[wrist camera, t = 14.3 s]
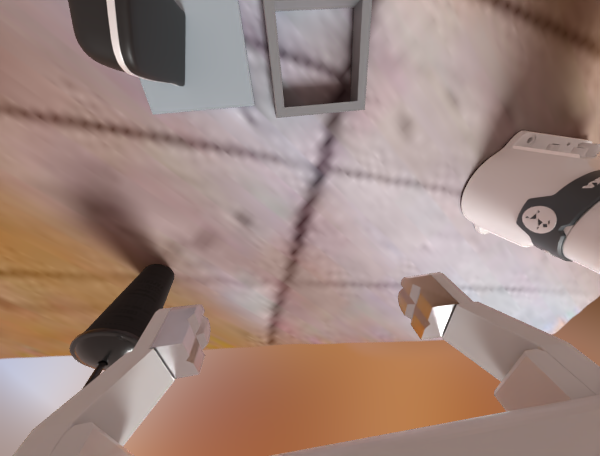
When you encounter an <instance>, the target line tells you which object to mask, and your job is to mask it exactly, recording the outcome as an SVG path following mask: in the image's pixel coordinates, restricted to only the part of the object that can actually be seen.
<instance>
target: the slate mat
mask: <svg viewBox="0 0 600 456" xmlns="http://www.w3.org/2000/svg"><path fill="white" fill-rule="evenodd" d="M174 1H175V2H176V3H177V4H178V5H179V7H180V8H181V9H182V10H183V11H184V12H185V16H186V46H185V85H184V86H175V85H173V84H169V83H161V82H154V81H149V80H146V79H142V78H139V79H140V81H141V84H142V87H143V89H144V92H145V95H146V97H147V100H148V103H149V105H150V108H151V111H152V113H153V114H163V113H175V112H186V111H198V110H209V109H221V108H232V107H244V106H255V103H254V97H253V91H252V84H251V78H250V72H249V66H248V59H247V53H246V47H245V41H244V34H243V28H242V22H241V15H240V9H239V3H238V0H174Z"/></svg>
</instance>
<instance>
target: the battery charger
mask: <svg viewBox="0 0 600 456" xmlns="http://www.w3.org/2000/svg"><path fill="white" fill-rule="evenodd" d="M68 2H69V8H70V13H71V18H72V24H73V28H74V32H75V36H76V39H77V41H78V43H79V45H80V46H81V48H82V49H83V50H84V52H85V53H86V54H87V55H88V56H89V57H91V58H92V59H93V60H95V61H97V62H98V63H100V64H102V65H105V66H107V67H110V68H113V69H116V70H119V71H123V72H126V73H128V74H130V75H133V76H136V77H139V78H142V79H146V80H149V81H154V82H161V83H169V84H173V85H175V86H184V85H185V46H186V16H185V12H184V11H183V10H182V9H181V8H180V7H179V5H178V4H177V3H176V2H175V1H174V0H68Z"/></svg>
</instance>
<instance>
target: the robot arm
mask: <svg viewBox="0 0 600 456" xmlns="http://www.w3.org/2000/svg"><path fill="white" fill-rule="evenodd" d="M598 152H600V144H594V143H592V142H591V141H590V140H585V139H579V138H572V137H565V136H558V135H551V134H544V133H537V132H531V131H520V132H518V133H517V134H516V135H515V136H514V137H513V138H512V139H511V140H510V141H509V142H508V143H507V145H506V146H505V147H504V148H503V149H502V150H500V151H499V152H497V153H496V154H495V155H493V156H492V157H490V158H489V159H488V160H487V161H485V162H484V163H483V164H482V165H481V166H480V167H479V168H478V169H477V171H476V172H475V173H474V174H473V176H472V177H471V179H470V180H469V182H468V184H467V186H466V188H465V190H464V193H463V196H462V202H461V208H462V212H463V215H464V216H465V217H466V219H468V220H469V221H471V222H472V223H473V224H474V226H475V229H476V231H477V232H479V233H481V234H488V233H493V234H495V235H497V236H499V237H502V238H504V239H506V240H508V241H511V242H513V243H515V244H517V245H520V246H523V247H528V246H536V247H537V248H539V249H541V250H543V251H545V252H546V253H548V254H550V255H552V256H554V257H558V258H560V259H562V260H565V261H571V262H572V261H574V262H576V263H578V264H580V265H582V266H584V267H586V268H588V269H590V270H592V271H594V272H596V273H598V274H600V157H599V156H597V155H596V154H598ZM401 285H402V287H403V289H402V290H401V291H400V292H399V295H398V302H399V306H400V308H401V310H402V312H403V314H404V315H405V316H407V317H408V318H410V319H411V326H412V327H413V329H414V330H415V332H416V333H417V335H418V336H419V338H420V339H421V340H425V339H433V338H441V337H443V338H442V339H444V340H445V341H446V342H448V343H449V344H450V345H452V346H453V347H455V348H456V349H457V350H459V351H460V352H461V353H463V354H464V355H465V356H467V357H468V358H470V359H471V360H472V361H474V362H475V363H476V364H478V365H479V366H480V367H482V368H483V369H485V370H486V371H487V372H489V373H490V374H491V375H493V376H494V377H495V378H497V379H498V380H500V381H501V383H500V384H499V386H498V387H497V388H496V390H495V392H494V396H495V397H496V398H497V399H498V401H499V402H500V403H501V404H502V406H503V407H504V409H505V410H506V411H507V412H503V413H497V414H492V415H486V416H481V417H476V418H470V419H465V420H460V421H454V422H449V423H444V424H438V425H433V426H428V427H422V428H417V429H411V430H406V431H401V432H395V433H390V434H385V435H379V436H374V437H368V438H363V439H358V440H352V441H347V442H342V443H337V444H331V445H326V446H320V447H315V448H309V449H305V450H299V451H293V452H288V453H283V454H277V455H272V456H600V367H599V366H598V365H597V364H595V363H594V362H593V361H592V360H590V359H589V358H587V357H586V356H585V355H584V354H582V353H581V352H580V351H579V350H577V349H576V348H575V347H573V346H572V345H571V344H570V343H568V342H566V341H564V340H561V339H559V338H557V337H555V336H553V335H551V334H548V333H546V332H544V331H542V330H539V329H537V328H535V327H533V326H531V325H528V324H526V323H524V322H522V321H520V320H517V319H515V318H513V317H511V316H508V315H506V314H504V313H502V312H500V311H497V310H495V309H493V308H491V307H488V306H486V305H484V304H482V303H480V302H473V301H472V300H471V299H470V298H469V297H468V296H467V295H466V294H465V293H464V292H462V291H461V290H460V289H459V288H458V287H457V286H456V285H455V284H454V283H453V282H452V281H451V280H449V279H448V278H447V277H446V276H445V275H444V274H442V273H440V272H437V273H430V274H423V275H416V276H409V277H404V278H403V279H402V281H401ZM204 311H205V310H204V308H203V306H202V305H190V306H180V307H173V308H164V309H159V310H158V311H156V312H155V314H154V315H153V317H152V319H151V320H150V322H149V324H148V325H147V327H146V329H145V330H144V332H143V334H142V335H141V337H140V339H139V341H138V342H137V344H136V346H135V347H134V349H133V351H131V352H127V353H126V354H125V355H123V356H122V357H121V358H120V359H118V360H117V361H116V362H115V363H114V364H112V365H111V366H110V367H109V368H107V369H106V370H105V371H104V372H103V373H101V374H100V375H99V376H98V377H96V378H95V379H94V380H93V381H92V382H90V383H89V384H88V385H87V386H86V387H84V388H83V389H82V390H81V391H80V392H78V393H77V394H76V395H75V396H73V397H72V398H71V399H70V400H68V401H67V402H66V403H65V404H64V405H62V406H61V407H60V408H59V409H57V410H56V411H55V412H54V413H53V414H51V415H50V416H49V417H48V418H47V419H45V420H44V421H43V422H42V423H40V424H39V425H38V426H37V427H36V428H34V429H33V430H32V431H31V433H30V434H29V435H28V437H27V438H26V439H25V440H24V442H23V443H22V445H21V446H20V447H19V448H18V450H17V451H16V452H15V454H14V455H13V456H134V455H133V454H132V453H130V452H129V451H128V450H127V449H125V448H124V447H123V446H124V444H125V443H126V442H127V441H128V439H129V438H130V437H131V436H132V434H133V433H134V432H135V430H136V429H137V428H138V427H139V425H140V424H141V423H142V422H143V420H144V419H145V418H146V416H147V415H148V414H149V413H150V411H151V410H152V409H153V407H154V406H155V405H156V404H157V402H158V401H159V400H160V399H161V397H162V396H163V395H164V393H165V392H166V391H167V390H168V388H169V387H170V386H171V385H172V383H173V382H174V379H177V378H182V377H188V376H193V375H199V374H200V370H201V367H202V363H203V360H204V356H205V355H204V353H203V351H202V350H203V349H204V348H205V346H206V345H207V344H208V342H209V338H210V323H209V320H208V318H206V317H205V316H203V314H204Z"/></svg>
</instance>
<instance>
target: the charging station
mask: <svg viewBox="0 0 600 456" xmlns="http://www.w3.org/2000/svg"><path fill="white" fill-rule="evenodd" d="M262 1H263V10H264V18H265V27H266V35H267V44H268V52H269V61H270V69H271V77H272V86H273V94H274V103H275V111H276V117H277V118H280V117H291V116H302V115H313V114H323V113H334V112H345V111H356V110H365V98H366V83H367V69H368V54H369V39H370V24H371V10H372V0H262ZM333 8H354V16H353V43H352V70H351V97H350V102H341V103H330V104H318V105H307V106H296V107H285V108H284V97H283V87H282V77H281V67H280V57H279V47H278V37H277V26H276V16H275V11H291V10H312V9H333Z"/></svg>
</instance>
